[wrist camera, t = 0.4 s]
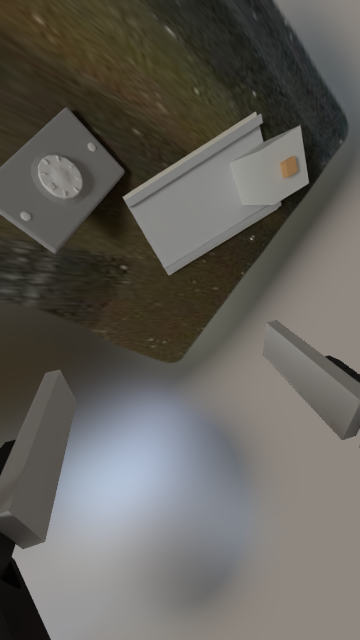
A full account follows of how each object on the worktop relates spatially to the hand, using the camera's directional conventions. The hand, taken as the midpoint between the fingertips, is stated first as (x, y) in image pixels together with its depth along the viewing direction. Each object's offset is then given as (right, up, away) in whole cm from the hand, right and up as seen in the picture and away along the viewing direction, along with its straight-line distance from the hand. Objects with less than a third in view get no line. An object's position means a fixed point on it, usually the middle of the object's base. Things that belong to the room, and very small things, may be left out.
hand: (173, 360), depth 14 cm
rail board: (+4, +21, +20) cm, 29 cm away
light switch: (-15, +21, +15) cm, 29 cm away
